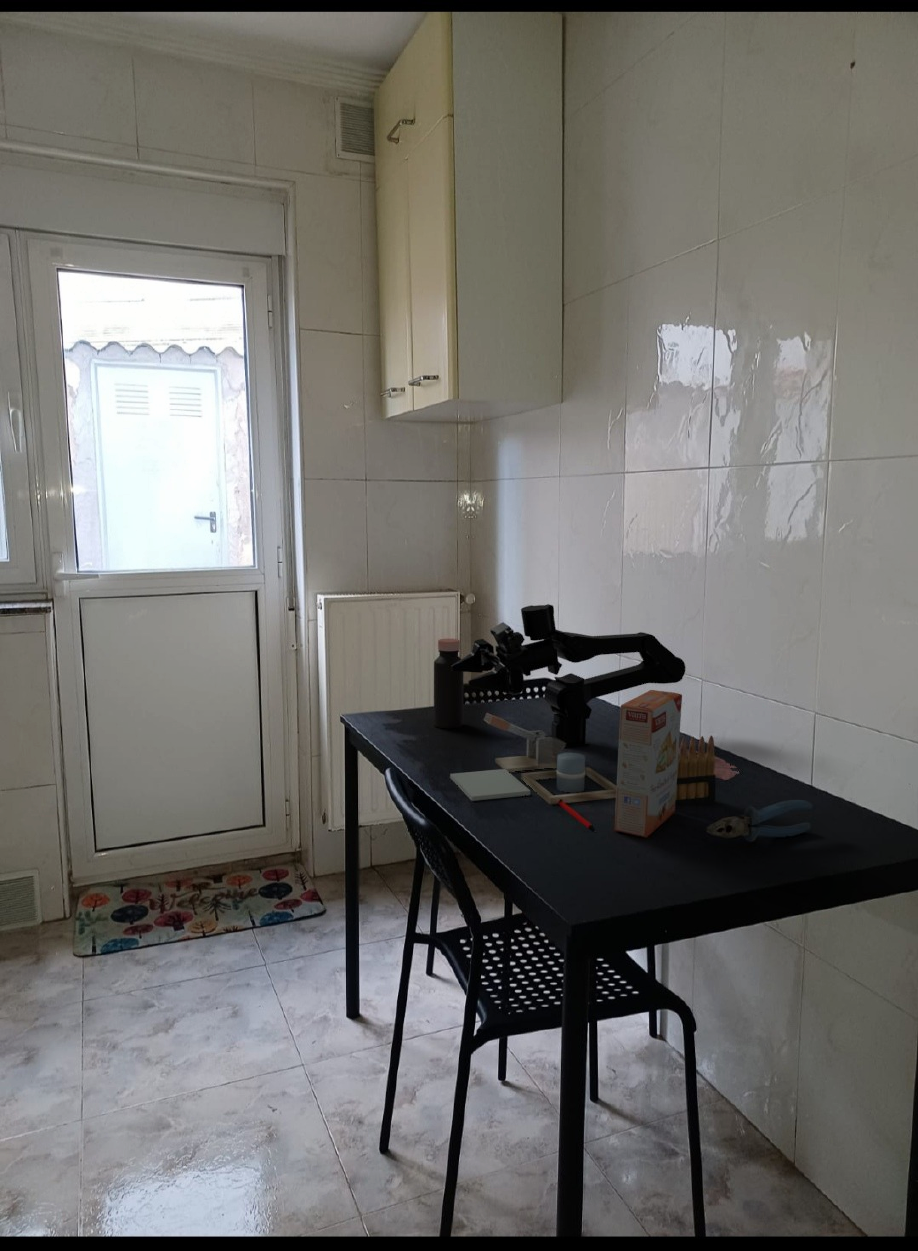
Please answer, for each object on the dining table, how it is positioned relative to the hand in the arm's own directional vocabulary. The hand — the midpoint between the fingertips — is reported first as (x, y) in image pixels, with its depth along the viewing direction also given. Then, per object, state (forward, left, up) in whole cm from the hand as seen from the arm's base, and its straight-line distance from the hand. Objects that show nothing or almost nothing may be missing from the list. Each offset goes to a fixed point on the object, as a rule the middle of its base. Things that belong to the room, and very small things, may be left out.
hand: (460, 675), depth 179 cm
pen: (-8, +36, -17) cm, 41 cm away
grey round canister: (-13, +25, -17) cm, 33 cm away
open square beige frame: (-13, +25, -17) cm, 33 cm away
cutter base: (-11, +10, -17) cm, 23 cm away
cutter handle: (-10, +10, -11) cm, 18 cm away
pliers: (-31, +56, -17) cm, 67 cm away
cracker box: (-18, +44, -17) cm, 51 cm away
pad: (+1, +20, -17) cm, 26 cm away
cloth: (-42, +17, -17) cm, 49 cm away
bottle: (-4, -23, -17) cm, 28 cm away
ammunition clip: (-29, +38, -17) cm, 51 cm away
